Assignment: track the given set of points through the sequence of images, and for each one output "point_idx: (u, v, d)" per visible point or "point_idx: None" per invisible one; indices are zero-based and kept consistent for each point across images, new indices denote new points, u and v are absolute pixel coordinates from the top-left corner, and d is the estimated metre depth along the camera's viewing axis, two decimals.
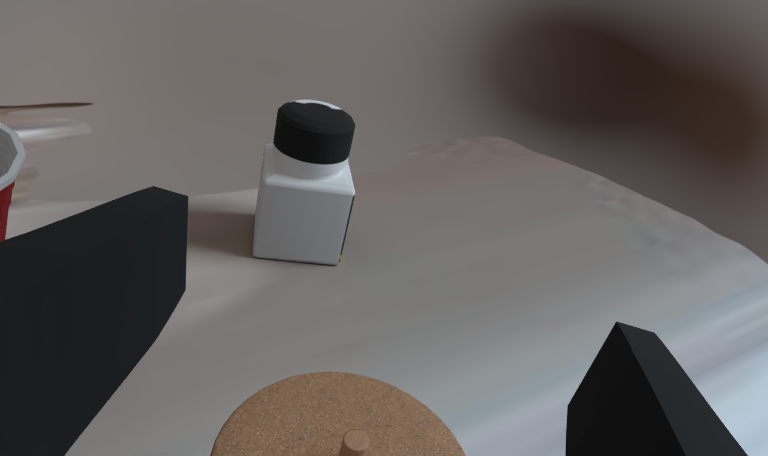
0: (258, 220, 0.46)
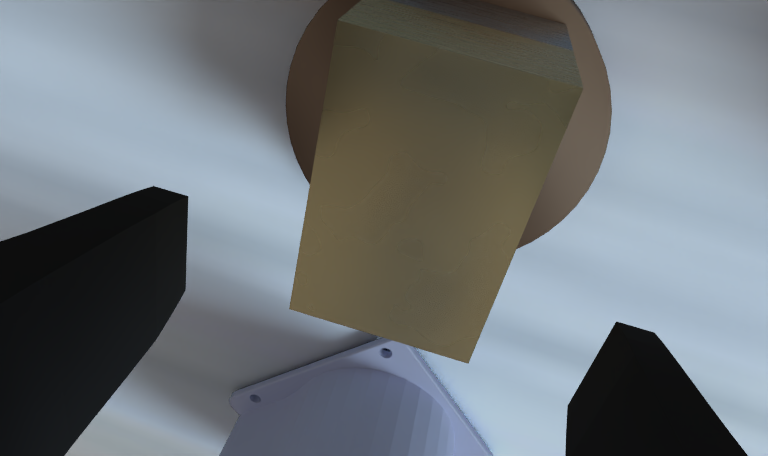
0: None
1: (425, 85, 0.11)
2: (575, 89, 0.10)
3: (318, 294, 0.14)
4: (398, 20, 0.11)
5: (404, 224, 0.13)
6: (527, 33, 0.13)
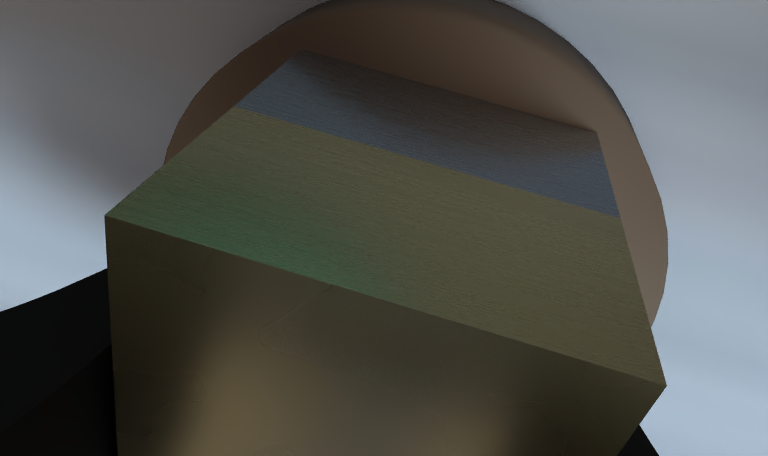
0: None
1: (313, 347, 0.05)
2: (647, 386, 0.04)
3: None
4: (266, 186, 0.06)
5: None
6: (532, 177, 0.07)
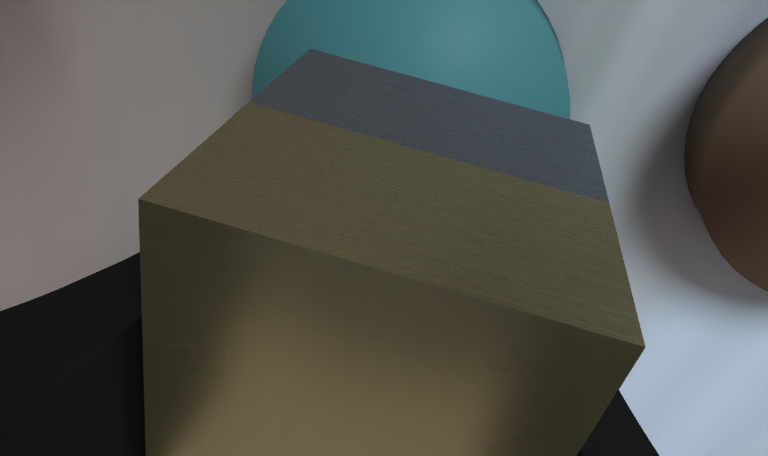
0: None
1: (326, 317, 0.05)
2: (627, 348, 0.05)
3: None
4: (282, 173, 0.06)
5: None
6: (527, 165, 0.07)
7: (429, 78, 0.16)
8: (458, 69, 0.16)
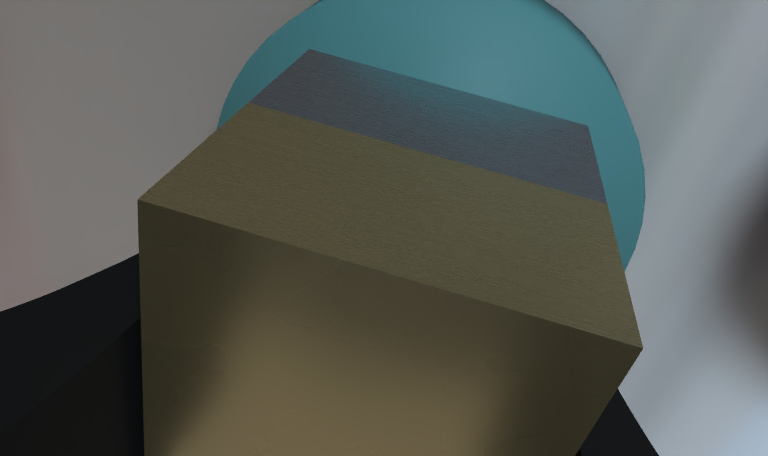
0: None
1: (324, 318, 0.05)
2: (625, 349, 0.05)
3: None
4: (281, 174, 0.06)
5: None
6: (526, 166, 0.07)
7: None
8: None
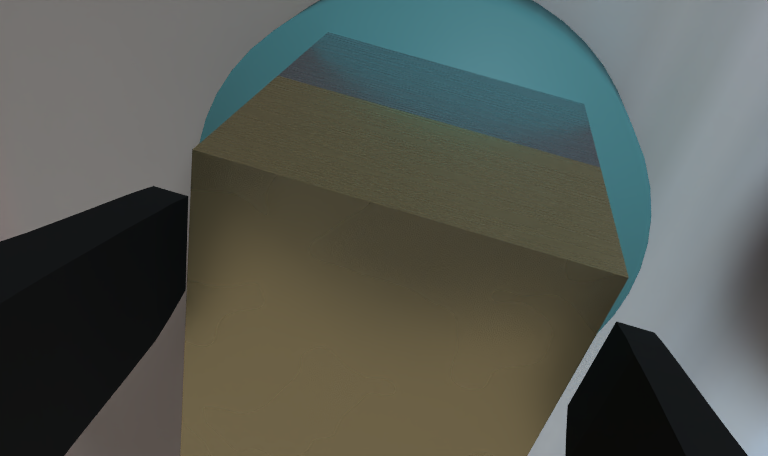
0: None
1: (352, 257, 0.06)
2: (613, 279, 0.06)
3: None
4: (312, 134, 0.07)
5: (333, 441, 0.08)
6: (527, 135, 0.08)
7: None
8: None
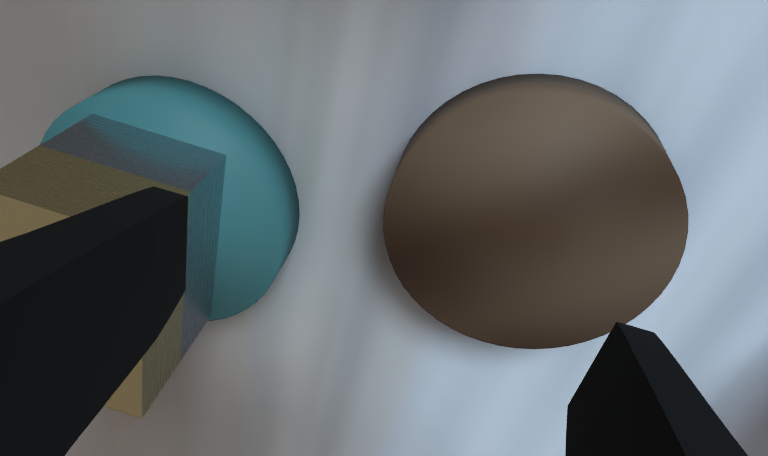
0: None
1: None
2: None
3: None
4: (36, 177, 0.16)
5: None
6: (164, 175, 0.17)
7: None
8: None
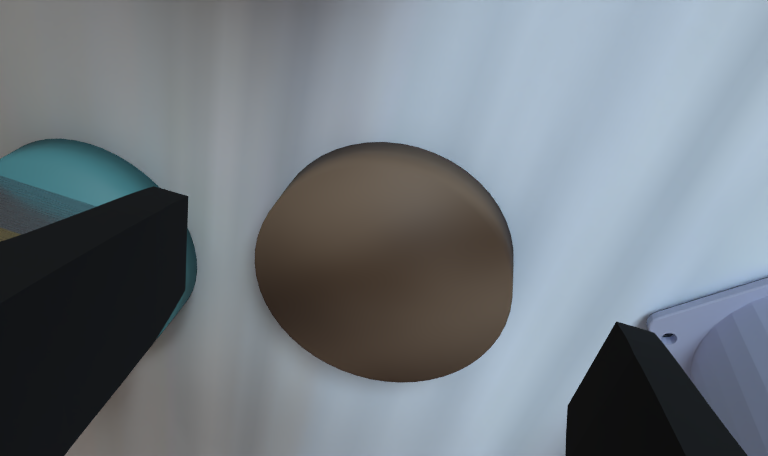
0: None
1: None
2: None
3: None
4: None
5: None
6: None
7: None
8: None
